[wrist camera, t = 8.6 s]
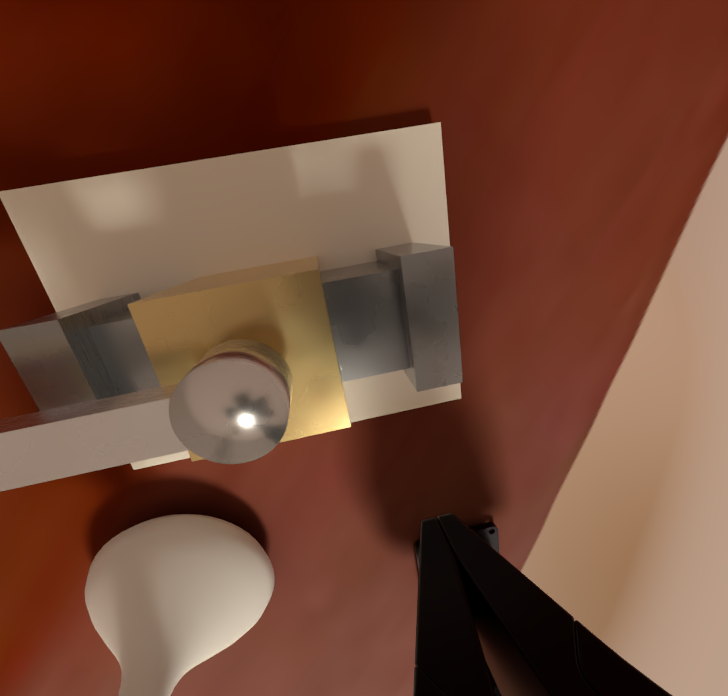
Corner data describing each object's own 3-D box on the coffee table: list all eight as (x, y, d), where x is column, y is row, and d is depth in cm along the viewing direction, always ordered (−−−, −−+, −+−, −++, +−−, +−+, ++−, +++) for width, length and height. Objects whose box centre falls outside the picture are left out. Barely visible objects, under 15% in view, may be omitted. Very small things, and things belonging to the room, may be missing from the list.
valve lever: (282, 324, 11) (271, 354, 8) (303, 404, 12) (299, 454, 9) (-168, 413, 10) (-347, 479, 7) (-104, 491, 11) (-240, 575, 8)
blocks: (423, 345, 20) (475, 399, 13) (142, 403, 19) (51, 492, 12) (412, 238, 18) (466, 242, 11) (94, 295, 17) (-45, 335, 10)
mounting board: (455, 391, 22) (461, 398, 21) (141, 459, 21) (133, 469, 20) (433, 128, 17) (440, 122, 16) (16, 194, 16) (-3, 191, 15)
